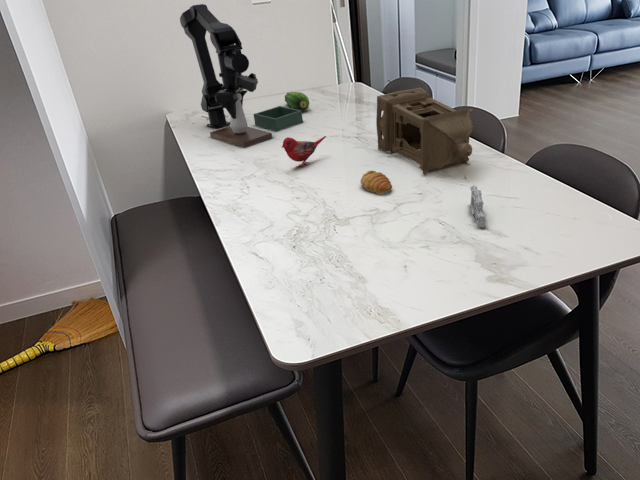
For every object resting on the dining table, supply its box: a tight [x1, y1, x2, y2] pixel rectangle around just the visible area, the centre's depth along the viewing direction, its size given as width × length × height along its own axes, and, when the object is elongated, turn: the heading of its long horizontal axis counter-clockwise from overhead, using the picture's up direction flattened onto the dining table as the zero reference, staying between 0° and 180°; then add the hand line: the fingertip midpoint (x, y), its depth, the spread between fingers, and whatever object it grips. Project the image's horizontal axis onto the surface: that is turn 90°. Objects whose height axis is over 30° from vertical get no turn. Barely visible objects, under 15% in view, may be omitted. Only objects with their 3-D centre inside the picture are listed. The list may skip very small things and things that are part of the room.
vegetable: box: [284, 91, 310, 112], centre depth 214 cm, size 7×7×20 cm
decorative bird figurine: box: [281, 135, 327, 168], centre depth 158 cm, size 3×18×10 cm, turn 137°
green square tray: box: [252, 105, 304, 132], centre depth 197 cm, size 13×13×4 cm
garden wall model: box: [469, 184, 486, 228], centre depth 123 cm, size 12×2×6 cm, turn 178°
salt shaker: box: [229, 93, 248, 133], centre depth 183 cm, size 6×6×13 cm
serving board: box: [209, 125, 273, 149], centre depth 187 cm, size 20×12×2 cm, turn 46°
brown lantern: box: [375, 87, 474, 176], centre depth 152 cm, size 35×18×18 cm, turn 26°
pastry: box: [360, 170, 393, 195], centre depth 141 cm, size 9×7×4 cm
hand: (237, 116), depth 183 cm, fingers open, 6 cm apart
